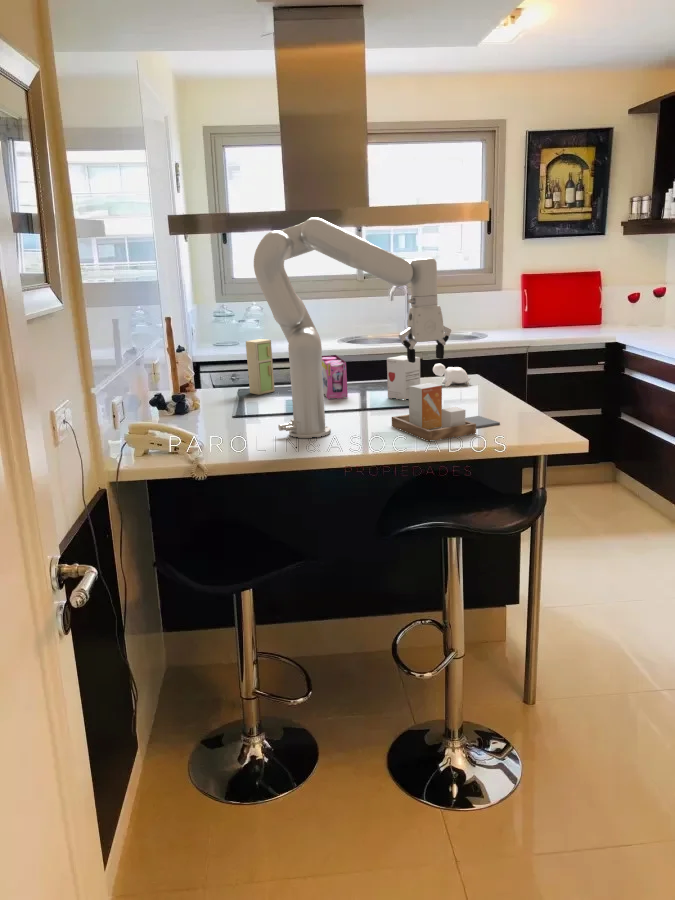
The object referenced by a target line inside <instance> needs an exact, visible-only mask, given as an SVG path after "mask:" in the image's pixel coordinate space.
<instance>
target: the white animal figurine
mask: <svg viewBox="0 0 675 900" xmlns="http://www.w3.org/2000/svg"><path fill="white" fill-rule="evenodd" d="M432 372H433V374H435V376H439V377H443V376H444V377H443V379H442V381H441V383H442V384H444V386H445V387H449V386H450V385H451V384H454V385H461V384H466V385H467V386H468V385H469V383H470V381H471V378H470V377H469V375H468V373H467V372H466V370H465V369H463V368H462V367H459V366H454V367H453V366H448V367H447V368H446V366H445V365H444V364H442V363H435V364H434V366H433V367H432Z"/></svg>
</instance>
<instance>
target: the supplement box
mask: <svg viewBox="0 0 675 900" xmlns="http://www.w3.org/2000/svg"><path fill="white" fill-rule="evenodd" d="M386 371H387V372H386V373H387V374H386V375H387V376H386V378H387V379H386V380H387V381H386V382H387V398H388V397H389V398H388V399H392V398H396V399H395V400H398V399H404V400H406V399H409V386H414V385H419V384H421V357H420V356H415V363H412V362H408V359H407V355H398V356H392V357H391V356H390V357H387V358H386ZM404 400H403V401H404ZM406 401H407V400H406Z"/></svg>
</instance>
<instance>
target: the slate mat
mask: <svg viewBox="0 0 675 900" xmlns="http://www.w3.org/2000/svg"><path fill="white" fill-rule="evenodd" d="M465 420H466V421H469V422H472V423H475V424H476V429H480V428H485V427H492V426H497V425H498V426H499V425H500V424H501V422H500V421H497V420H494V419H490V418H487V417H484V416H481V415H476V416H475V415H474V416H469V417H465Z"/></svg>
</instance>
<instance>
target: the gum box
mask: <svg viewBox="0 0 675 900" xmlns="http://www.w3.org/2000/svg"><path fill="white" fill-rule="evenodd" d="M322 375H323V393H324V394H325V395H324V396H325V397H326V399H327V400H329V399H330V398H337V399H344V398H343V397H348V398H349V395H348V378H347V375H348V374H347V362H346V360H345V359H342V358H341V357H340V356H338V355H337V354H329V355H322ZM330 400H331V399H330Z"/></svg>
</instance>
